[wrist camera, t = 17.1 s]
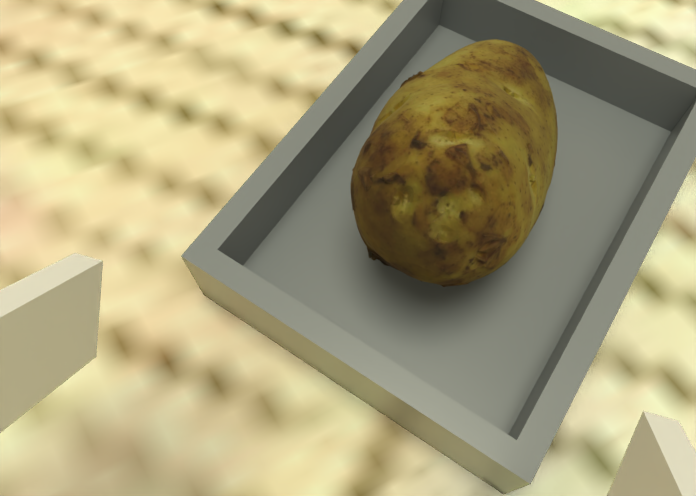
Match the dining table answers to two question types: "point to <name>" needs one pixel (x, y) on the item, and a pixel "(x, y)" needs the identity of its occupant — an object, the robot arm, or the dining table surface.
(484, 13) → the tray
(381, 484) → the dining table surface
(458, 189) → the potato
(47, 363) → the robot arm
